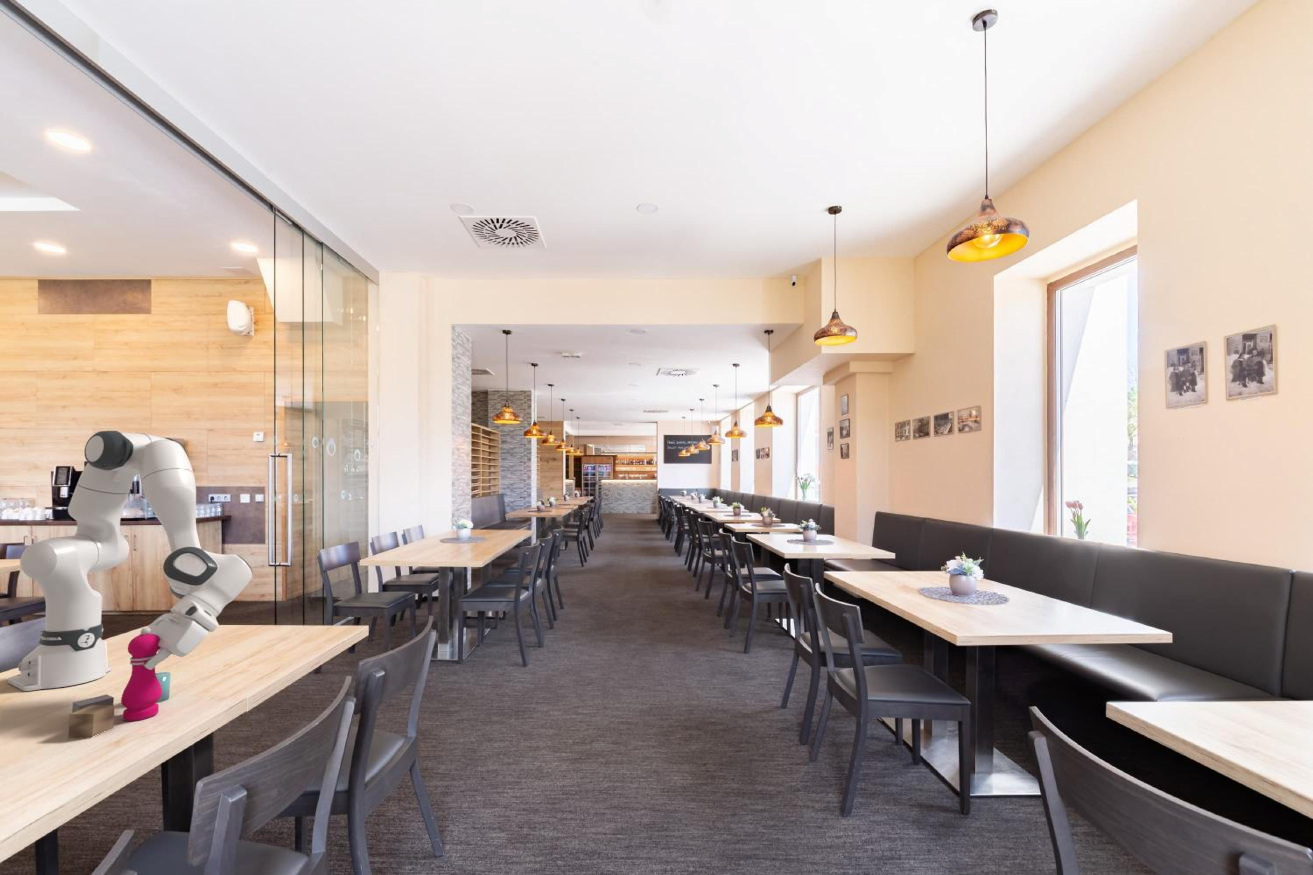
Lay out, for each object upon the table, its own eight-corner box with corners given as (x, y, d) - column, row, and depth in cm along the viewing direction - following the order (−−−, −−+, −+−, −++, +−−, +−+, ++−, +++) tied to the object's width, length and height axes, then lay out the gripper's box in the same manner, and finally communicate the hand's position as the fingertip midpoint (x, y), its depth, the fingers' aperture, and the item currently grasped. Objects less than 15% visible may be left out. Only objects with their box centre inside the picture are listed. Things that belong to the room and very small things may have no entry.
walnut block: (68, 738, 127) (69, 713, 128) (90, 728, 132) (91, 705, 133) (92, 738, 128) (93, 713, 128) (113, 728, 132) (114, 704, 133)
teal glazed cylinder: (138, 702, 148) (139, 677, 148) (160, 695, 152) (161, 671, 153) (151, 704, 146) (153, 679, 146) (174, 697, 151) (175, 673, 151)
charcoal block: (71, 720, 137) (72, 702, 137) (105, 711, 142) (106, 694, 142) (78, 724, 135) (79, 705, 135) (112, 715, 140) (113, 697, 140)
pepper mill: (168, 711, 141) (173, 625, 143) (133, 723, 134) (138, 632, 136) (147, 708, 144) (152, 622, 145) (112, 719, 137) (117, 629, 138)
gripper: (163, 602, 152) (111, 651, 143) (201, 611, 141) (147, 665, 132) (183, 616, 155) (133, 665, 146) (222, 627, 145) (170, 680, 136)
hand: (140, 665), depth 139 cm, fingers closed on pepper mill, 5 cm apart
